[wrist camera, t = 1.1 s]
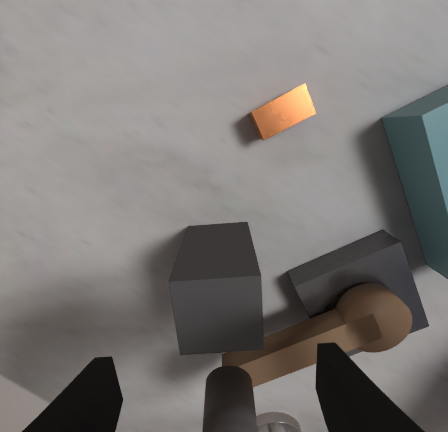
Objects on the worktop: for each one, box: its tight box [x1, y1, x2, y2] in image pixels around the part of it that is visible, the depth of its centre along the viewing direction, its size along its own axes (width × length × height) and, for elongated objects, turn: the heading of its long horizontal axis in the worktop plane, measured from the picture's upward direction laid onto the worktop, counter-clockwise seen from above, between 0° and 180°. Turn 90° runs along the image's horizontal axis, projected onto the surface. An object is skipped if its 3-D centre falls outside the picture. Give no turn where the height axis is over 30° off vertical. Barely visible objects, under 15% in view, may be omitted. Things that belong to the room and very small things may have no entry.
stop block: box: [169, 222, 264, 355], centre depth 16 cm, size 4×4×7 cm
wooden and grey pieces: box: [249, 84, 429, 356], centre depth 18 cm, size 18×7×2 cm, turn 27°
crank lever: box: [203, 283, 412, 432], centre depth 15 cm, size 14×4×6 cm, turn 117°
